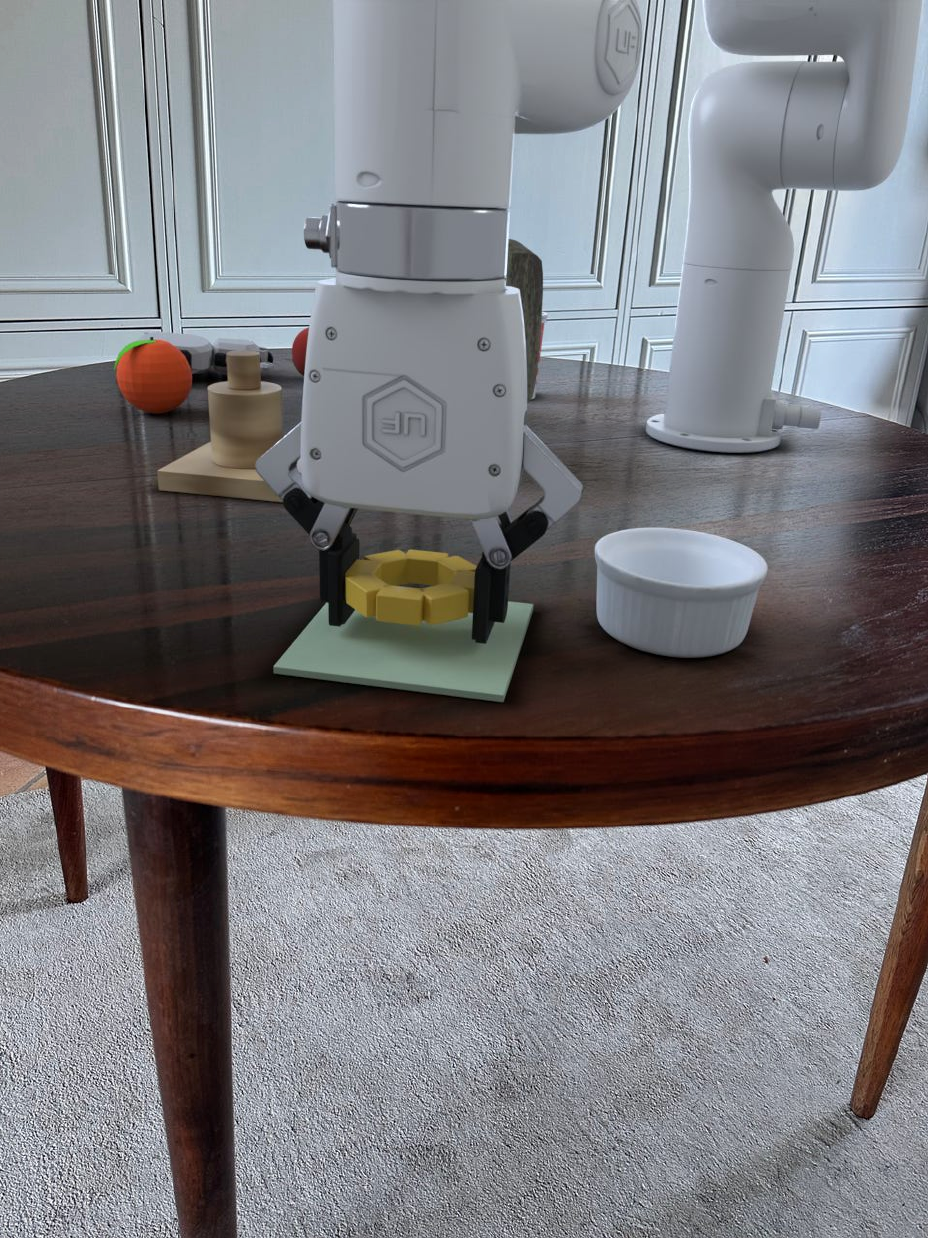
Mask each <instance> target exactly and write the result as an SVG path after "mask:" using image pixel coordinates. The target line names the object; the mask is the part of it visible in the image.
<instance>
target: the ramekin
mask: <svg viewBox="0 0 928 1238" xmlns="http://www.w3.org/2000/svg"><path fill="white" fill-rule="evenodd" d="M594 559H595V564H596V599H595V601H596V618H597V621H598V623H599V626H601V628H602V629H603V631H605V632H606V633H607V634H608V635H609V636H611V637H612V638H613V639H614V640H616V641H618V642H619V643H621V644H624V645H625V646H628V647H630V648H633V649H636V650H639V651H642V652H646V653H650V654H654V655H657V656H663V657H669V658H684V659H686V658H687V659H695V658H696V659H697V658H707V657H708V658H709V657H713V656H714V657H715V656H718V655H722V654H725V653H728V652H730V651H731V650H734V649H735V648H737V647H738V646H740V644H742V643H743V641H744V639H745V638H746V635H747V633H748V631H749V627H750V624H751V620H752V616H753V613H754V609H755V604H756V602H757V598H758V594H759V591H760V587H761V586H762V585H763V584H764V582H765V579H766V576H767V573H768V569H769V568H768V567H769V566H768V564H767V562H766V559H765V558H764V557H763V556H762V555H761V554H760V553H758V552H757V551H755V550H754V549H752V548H750V547H748V546H747V545H745V544H742V543H740V542H737V541H735V540H732V539H729V538H727V537H723V536H720V535H716V534H711V533H707V532H702V531H696V530H689V529H683V528H682V529H681V528H672V527H636V528H628V529H621V530H619V531H615V532H612V533H611V532H610V533H609V534H606V535H604V536H602V537H601V538H600V539H599V540H598V541H597V542H596V543H595V545H594Z"/></svg>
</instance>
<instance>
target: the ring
mask: <svg viewBox="0 0 928 1238" xmlns="http://www.w3.org/2000/svg"><path fill="white" fill-rule="evenodd" d="M476 567H477V565H475V564H473V563H471V562H470V561H469V560H466V559H465V558H463V557H461V556H459V555H453V556H449V553H446V552H439V551H429V550H419V549H411V548H410V549H408V550H407V552H406V553H405V552H404V551H402V550H401V549H395V550H390V551H384V552H379V553H378V552H377V553H373V554H368V555H363V559H362V558H361V559H360V558H359V559H357V560H356V561H355V562H354V563H353V564H352V566H351V567H350V568H349V569H348V570H347V571H346V573H345V598H346V603H347V604H348V605H350V606H351V607H352V608H354V609H355V610H357V611H358V612H359V613H361V614H362V615H363V616H365V617H366V618H369V617H374V616H376V620H377V621H381V622H390V623H398V624H407V625H415V626H420V624H421V622H422V621H423V620H424V621H425V622H427V623H428V624H430V625H435V624H440V623H444V622H448V621H452V620H457V619H461V618H465V617H468V613H473V600H474V580H475V570H476ZM407 583H408V584H417V585H424V586H425V585H426V586H427V587H423V588H419V587H411V586H401V585H403V584H407Z"/></svg>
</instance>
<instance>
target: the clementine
mask: <svg viewBox="0 0 928 1238" xmlns="http://www.w3.org/2000/svg"><path fill="white" fill-rule="evenodd" d="M115 371H116V375H115V376H116V381H117V386H118V389H119V391H120V392H121V395H122V397H124V399H125V400H126V401H127V402H128V403H129V404H130V405H131V406H133V407H135V408H136V409H138V410H140V411H142V412H145V413H147V414H153V415H154V414H157V415H158V414H159V415H160V414H166V413H169V412H171V411H174V410H176V409H177V408H178V407H180V406H181V405H182V404H183V403H184V402H185V401H186V399H187V398H188V397H189V395H190V391H191V389H192V387H193V386H192V385H193V374H192V373H191V368H190V365H189V363H188V361H187V359H186V357H185V356H184V355H183V353H182V352H181V351H180V350H179V349H178V348H176V347H175V346H174V345H172V344H171V343H169V342H167V341H163V340H153V337H150V339H148V340H140V341H137V340H134V341H132V342H129V343H128V344H126V345H124V347H123V348H122V349H121V350H120V351H119V352H118V354H117V356H116V359H115V362H114V368H113V372H115Z"/></svg>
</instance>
